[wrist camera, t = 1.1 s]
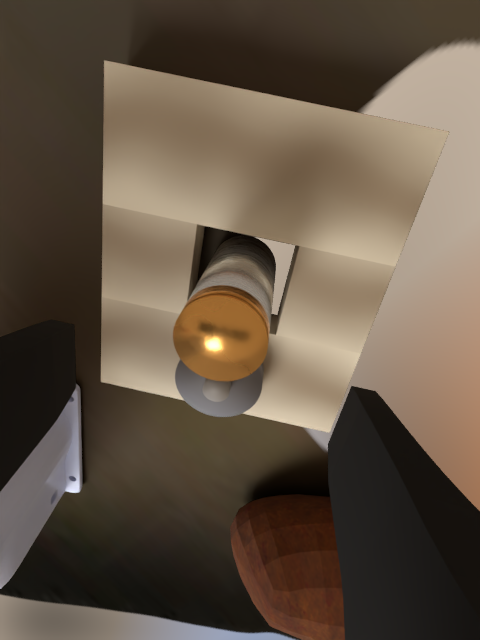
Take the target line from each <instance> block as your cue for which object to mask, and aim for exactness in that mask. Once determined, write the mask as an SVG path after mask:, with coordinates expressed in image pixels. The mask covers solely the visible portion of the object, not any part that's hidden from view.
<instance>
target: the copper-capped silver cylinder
mask: <svg viewBox="0 0 480 640" xmlns="http://www.w3.org/2000/svg"><path fill="white" fill-rule="evenodd" d="M275 271H276V263H275V258H274V256H273V253H272V252H271V250H270V249H269V247H268V246H267V245H266V244H265V243H263V242H262V241H260V240H259V239H257V238H254V237H251V236H235V237H232V238H230V239H228V240H226V241H225V242H223V243H222V244H221V245H220V246H219V247H218V249H217V250H216V252H215V254H214V256H213V257H212V259H211V261H210V263H209V264H208V266H207V268H206V270H205V271H204V273H203V275H202V277H201V278H200V280H199V282H198V284H197V285H196V287H195V289H194V291H193V292H192V294H191V296H190V298H189V299H188V301H187V303H186V305H185V306H184V308H183V310H182V311H181V313H180V315H179V317H178V319H177V320H176V323H175V325H174V330H173V343H174V347H175V350H176V352H177V354H178V356H179V358H180V359H181V360H182V362H183V363H184V364H185V365H186V366H187V367H188V368H189V369H191V370H192V371H193V372H195V373H196V374H198V375H200V376H202V377H205V378H207V379H211V380H215V381H234V380H239V379H242V378H244V377H247V376H248V375H250V374H252V373H253V372H254V371H256V370H257V369H258V368H259V367H260V365H261V364H262V363H263V361H264V359H265V357H266V354H267V350H268V342H269V332H270V322H271V311H272V302H273V291H274V281H275Z"/></svg>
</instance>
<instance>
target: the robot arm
mask: <svg viewBox="0 0 480 640" xmlns="http://www.w3.org/2000/svg"><path fill="white" fill-rule="evenodd" d="M71 396H72V397H73V398H72V397H71ZM328 483H329V491H330V499H331V507H332V514H333V522H334V529H335V536H336V543H337V551H338V558H339V565H340V572H341V582H342V592H343V607H344V629H345V640H480V511H479V510H478V509H477V508H476V507H475V506H474V505H473V504H472V503H471V502H470V501H469V500H468V499H467V498H466V497H465V496H464V495H463V493H462V492H461V491H460V490H459V489H458V488H457V487H456V486H455V485H454V484H453V483H452V482H451V480H450V479H449V478H448V477H447V476H446V475H445V474H444V473H443V472H442V471H441V469H440V468H439V467H438V466H437V465H436V464H435V463H434V461H433V460H432V459H431V458H430V457H429V455H428V454H427V453H426V452H425V451H424V450H423V449H422V447H421V446H420V445H419V444H418V442H417V441H416V440H415V439H414V437H413V436H412V435H411V434H410V433H409V431H408V430H407V429H406V428H405V426H404V425H403V424H402V423H401V421H400V420H399V419H398V418H397V416H396V415H395V414H394V413H393V411H392V410H391V409H390V408H389V406H388V405H387V404H386V403H385V402H384V400H383V399H382V398H381V397H380V396H379V395H378V393H377V392H376V391H372V390H368V389H363V388H358V387H354V386H352V387H351V389H350V392H349V394H348V396H347V399H346V402H345V404H344V406H343V409H342V411H341V413H340V416H339V418H338V421H337V423H336V426H335V428H334V431H333V434H332V436H331V438H330V441H329V443H328ZM81 488H82V440H81V393H80V387H79V386H78V385H77V384H76V364H75V330H74V325H73V324H69V323H64V322H60V321H55V320H48V321H45V322H41V323H38V324H35V325H32V326H30V327H27V328H24V329H21V330H19V331H16V332H13V333H10V334H8V335H5V336H2V337H0V589H1V588H2V587H3V586H4V585H5V584H6V583H7V582H8V581H9V579H10V578H11V577H12V576H13V574H14V573H15V572H16V570H17V569H18V567H19V565H20V564H21V562H22V560H23V559H24V557H25V555H26V554H27V552H28V551H29V549H30V547H31V546H32V544H33V542H34V541H35V539H36V537H37V536H38V534H39V533H40V531H41V529H42V528H43V526H44V524H45V523H46V521H47V519H48V518H49V516H50V514H51V513H52V511H53V510H54V508H55V506H56V505H57V503H58V501H59V500H60V498H61V496H62V495H63V493H64V492H65V491H68V492H72V493H78V492H79V491H80V490H81Z"/></svg>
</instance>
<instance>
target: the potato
mask: <svg viewBox="0 0 480 640" xmlns="http://www.w3.org/2000/svg"><path fill="white" fill-rule="evenodd" d="M230 528H231V544H232V550H233V555H234V558H235V561H236V564H237V568H238V571H239V574H240V577H241V579H242V581H243V583H244V585H245V587H246V589H247V591H248V593H249V595H250V597H251V599H252V601H253V603H254V604H255V606H256V607H257V608H258V610H259V611H260V613H261V614H262V615H263V617H264V618H265V620H266V621H267V622H268V624H269V625H270V626H271V627H273V628H276V629H278V630H280V631H283V632H285V633H288V634H290V635H292V636H295V637H297V638H299V639H302V640H345V629H344V607H343V592H342V582H341V572H340V565H339V558H338V551H337V543H336V536H335V529H334V522H333V514H332V507H331V499H330V497H325V496H313V495H300V494H296V495H278V496H272V497H265V498H261V499H257V500H254V501H252V502H250V503H248V504H246V505H245V506H243V507H241V508H240V509H239V511H238V513H237V515H236V517H235V519H234V521H233V523H232V525H231V527H230Z"/></svg>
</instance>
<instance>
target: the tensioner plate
mask: <svg viewBox="0 0 480 640" xmlns="http://www.w3.org/2000/svg"><path fill="white" fill-rule="evenodd" d="M448 134H449V131H444V130H439V129H434V128H429V127H425V126H420V125H414V124H410V123H405V122H400V121H395V120H390V119H386V118H381V117H375V116H371V115H366V114H362V113H357V112H352V111H347V110H342V109H337V108H332V107H328V106H323V105H318V104H313V103H308V102H303V101H299V100H294V99H289V98H284V97H279V96H274V95H270V94H265V93H260V92H255V91H250V90H245V89H240V88H236V87H231V86H226V85H221V84H216V83H211V82H207V81H202V80H197V79H192V78H187V77H182V76H177V75H173V74H168V73H163V72H158V71H153V70H148V69H144V68H139V67H134V66H129V65H124V64H119V63H115V62H110V61H105V60H104V134H103V228H102V321H101V382H104V383H108V384H113V385H117V386H122V387H126V388H131V389H135V390H140V391H144V392H149V393H153V394H158V395H162V396H167V397H171V398H176V399H180V400H185V401H186V402H187V403H188V404H189V405H190V406H191V407H193V408H194V409H196V410H198V411H200V412H202V413H204V414H207V415H211V416H216V417H230V416H235V415H239V414H241V413H243V414H248V415H252V416H257V417H261V418H266V419H270V420H275V421H279V422H284V423H288V424H293V425H297V426H302V427H306V428H311V429H315V430H320V431H324V432H330V430H331V428H332V425H333V422H334V420H335V418H336V415H337V413H338V410H339V408H340V405H341V402H342V400H343V397H344V395H345V393H346V390H347V387H348V385H349V383H350V380H351V377H352V375H353V373H354V370H355V367H356V365H357V363H358V360H359V358H360V355H361V353H362V350H363V347H364V345H365V342H366V340H367V337H368V335H369V332H370V330H371V327H372V325H373V322H374V320H375V317H376V315H377V312H378V310H379V307H380V305H381V302H382V300H383V297H384V295H385V292H386V290H387V287H388V285H389V282H390V280H391V277H392V275H393V272H394V270H395V267H396V265H397V262H398V260H399V257H400V255H401V252H402V249H403V247H404V245H405V242H406V240H407V237H408V235H409V232H410V230H411V227H412V225H413V222H414V220H415V217H416V214H417V212H418V210H419V207H420V204H421V202H422V200H423V197H424V195H425V192H426V189H427V187H428V185H429V182H430V179H431V177H432V174H433V172H434V169H435V167H436V164H437V162H438V159H439V157H440V154H441V152H442V149H443V147H444V144H445V142H446V139H447V137H448ZM205 226H208V227H212V228H217V229H222V230H227V231H231V232H236V233H241V234H245V235H250V236H255V237H259V238H264V239H269V240H273V241H278V242H283V243H288V244H292V245H295V249H294V253H293V257H292V261H291V265H290V269H289V273H288V276H287V280H286V284H285V288H284V292H283V296H282V300H281V303H280V307H279V311H278V315H274V314H271V322H270V332H269V342H268V350H267V354H266V357H265V359H264V361H263V363H262V364H261V365H260V367H259V368H258V369H257V370H256V371H254V372H253V373H252V374H250V375H248V376H247V377H244V378H242V379H239V380H234V381H215V380H211V379H207V378H205V377H202V376H200V375H198V374H196V373H195V372H193V371H192V370H191V369H189V368H188V367H187V366H186V365H185V364H184V363H183V362H182V360H181V359H180V358H179V356H178V354H177V352H176V350H175V347H174V343H173V330H174V325H175V323H176V320H177V319H178V317H179V315H180V313H181V311H182V310H183V308H184V306H185V305H186V303H187V301H188V299H189V298H190V296H191V294H192V292H193V291H194V289H195V287H196V285H197V279H198V272H199V265H200V258H201V251H202V244H203V236H204V229H205Z"/></svg>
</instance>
